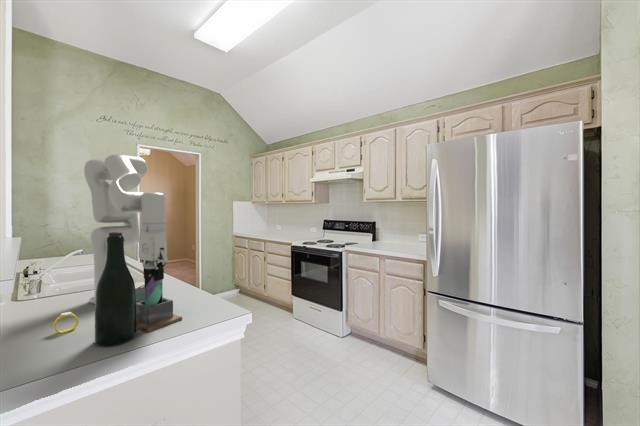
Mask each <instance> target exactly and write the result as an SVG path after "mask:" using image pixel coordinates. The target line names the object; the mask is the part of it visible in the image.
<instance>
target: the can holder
mask: <svg viewBox="0 0 640 426" xmlns="http://www.w3.org/2000/svg"><path fill="white" fill-rule="evenodd" d="M136 320H137V330H138V329H139V330H141V331H143V332H146V333H151V332H153V331H155V330H158V329H161V328H164V327H167V326H169V325H172V324H174V323H177V322H179V321H182V320H183V316H180V315H178V314H174V300H173V299H169V298H165V297H163V303H160V304H156V305H153V306H147V305H145V300H144V301H141V302H137V303H136Z"/></svg>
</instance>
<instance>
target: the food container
mask: <svg viewBox="0 0 640 426" xmlns="http://www.w3.org/2000/svg"><path fill="white" fill-rule="evenodd" d="M135 293H136V303H137V302H141V301H144V300H145V284H144V285H141V286H138V287H137V288H136V287H135Z"/></svg>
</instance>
